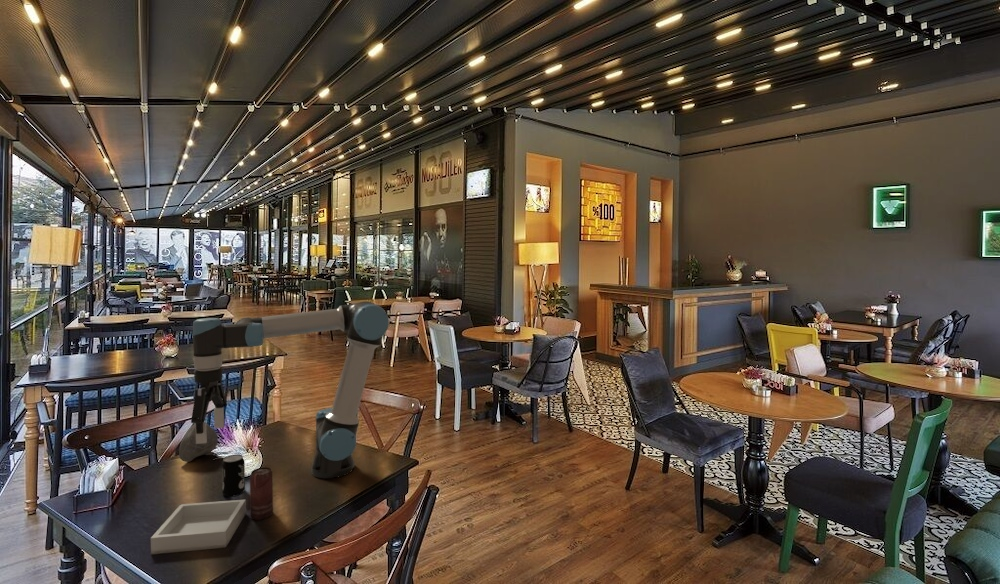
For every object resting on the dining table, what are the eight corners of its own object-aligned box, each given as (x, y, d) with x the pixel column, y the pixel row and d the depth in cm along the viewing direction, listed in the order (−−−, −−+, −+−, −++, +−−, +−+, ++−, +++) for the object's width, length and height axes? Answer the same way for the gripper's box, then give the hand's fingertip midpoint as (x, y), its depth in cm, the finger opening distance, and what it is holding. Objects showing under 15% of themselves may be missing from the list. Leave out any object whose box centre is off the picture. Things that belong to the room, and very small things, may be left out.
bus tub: (246, 513, 150) (245, 499, 150) (225, 547, 133) (225, 531, 132) (181, 518, 147) (180, 504, 146) (151, 554, 129) (150, 538, 129)
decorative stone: (206, 449, 199) (205, 413, 198) (226, 453, 196) (225, 416, 195) (171, 464, 184) (170, 425, 183) (192, 468, 181) (191, 428, 180)
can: (246, 521, 146) (245, 475, 145) (256, 510, 152) (255, 466, 151) (267, 521, 146) (266, 475, 145) (276, 510, 153) (275, 466, 152)
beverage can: (235, 498, 159) (234, 462, 159) (217, 496, 161) (217, 460, 160) (249, 489, 166) (248, 454, 165) (232, 487, 167) (231, 453, 166)
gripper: (211, 360, 163) (214, 422, 165) (175, 378, 139) (178, 451, 140) (235, 359, 164) (238, 421, 166) (204, 377, 140) (207, 449, 141)
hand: (210, 435), depth 153 cm, fingers open, 13 cm apart
